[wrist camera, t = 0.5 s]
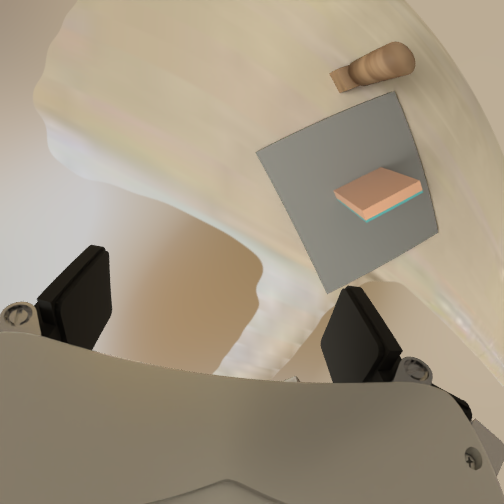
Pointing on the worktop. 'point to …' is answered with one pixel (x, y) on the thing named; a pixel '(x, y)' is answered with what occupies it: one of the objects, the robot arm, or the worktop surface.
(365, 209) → the tile
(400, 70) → the wooden rubber stamp
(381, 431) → the robot arm
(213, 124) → the worktop surface
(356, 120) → the mat
